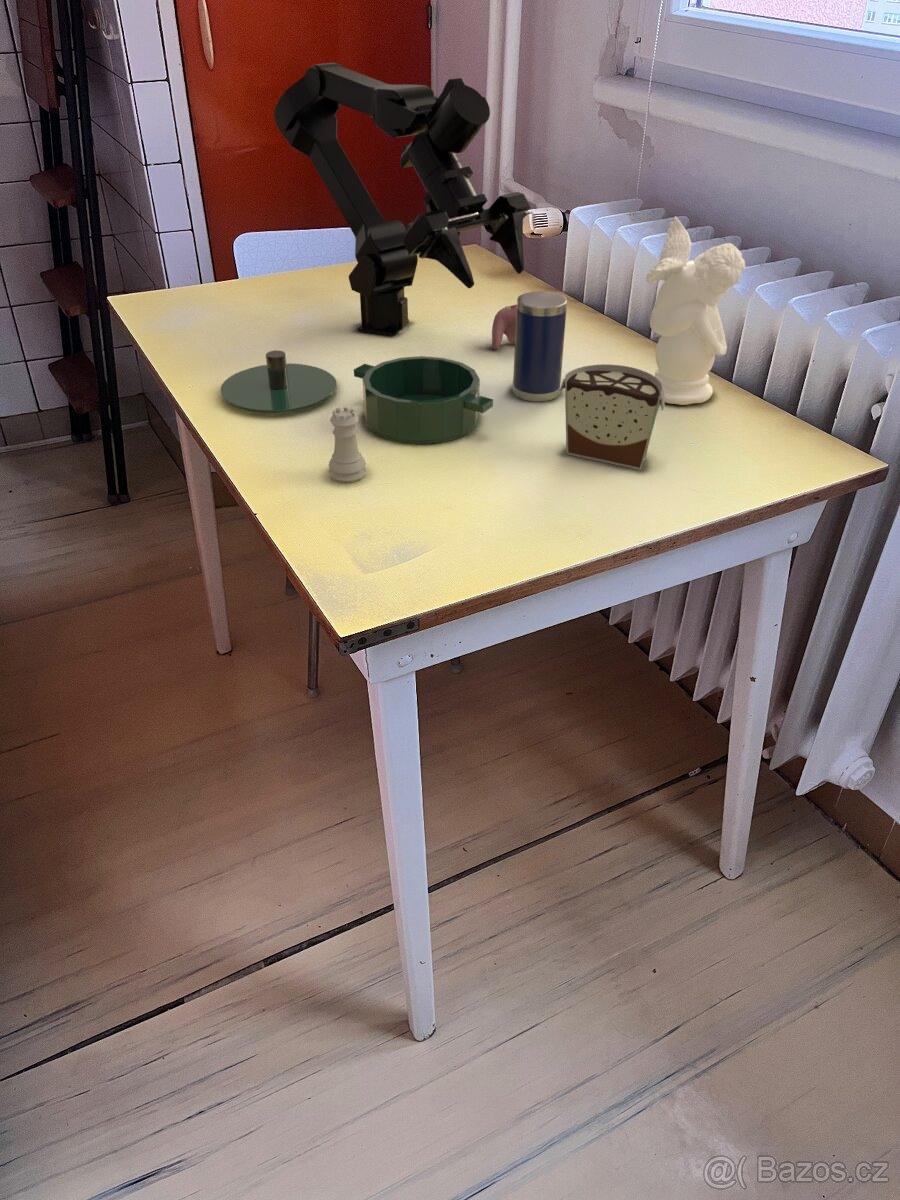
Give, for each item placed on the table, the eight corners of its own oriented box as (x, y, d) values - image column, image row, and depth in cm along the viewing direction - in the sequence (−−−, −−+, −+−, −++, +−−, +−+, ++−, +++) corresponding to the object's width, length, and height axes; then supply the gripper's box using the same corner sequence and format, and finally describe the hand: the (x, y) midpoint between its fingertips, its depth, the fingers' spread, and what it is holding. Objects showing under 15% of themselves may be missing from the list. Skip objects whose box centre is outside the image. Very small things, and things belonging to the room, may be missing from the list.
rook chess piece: (337, 487, 107) (332, 423, 102) (323, 470, 110) (317, 407, 105) (373, 478, 108) (370, 415, 104) (358, 462, 112) (354, 400, 107)
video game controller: (555, 354, 143) (559, 306, 142) (556, 351, 139) (559, 302, 138) (491, 351, 144) (494, 304, 143) (490, 348, 139) (492, 300, 138)
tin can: (507, 398, 127) (511, 304, 119) (519, 379, 132) (524, 288, 124) (553, 404, 125) (560, 310, 117) (564, 386, 130) (572, 294, 122)
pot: (455, 461, 112) (455, 418, 109) (326, 419, 121) (323, 379, 118) (516, 417, 122) (518, 377, 119) (393, 382, 131) (391, 344, 128)
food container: (666, 450, 115) (679, 373, 109) (653, 472, 110) (665, 393, 104) (571, 431, 119) (578, 355, 113) (554, 451, 114) (561, 374, 108)
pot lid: (284, 428, 119) (279, 387, 116) (197, 399, 126) (190, 359, 123) (360, 386, 129) (358, 347, 126) (275, 362, 136) (271, 324, 133)
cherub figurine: (731, 401, 126) (764, 232, 113) (658, 421, 121) (684, 246, 108) (672, 370, 135) (696, 209, 121) (602, 387, 130) (620, 222, 117)
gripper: (464, 200, 137) (514, 295, 137) (363, 223, 127) (416, 325, 127) (504, 151, 127) (557, 252, 127) (398, 171, 117) (456, 281, 117)
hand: (496, 279), depth 125 cm, fingers open, 9 cm apart
